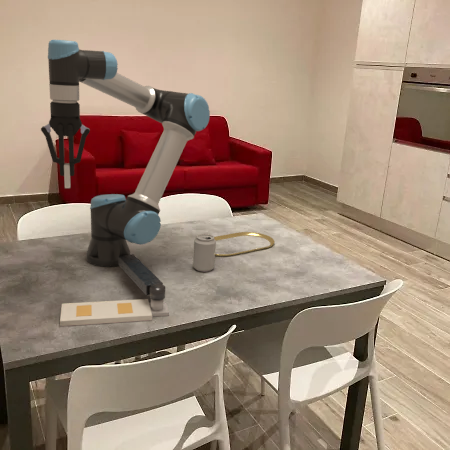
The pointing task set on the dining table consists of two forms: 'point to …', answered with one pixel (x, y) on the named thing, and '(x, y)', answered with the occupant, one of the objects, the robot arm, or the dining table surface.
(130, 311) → the panel
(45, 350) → the dining table surface
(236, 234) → the curved rod
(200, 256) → the can
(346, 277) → the dining table surface
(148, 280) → the swing arm
